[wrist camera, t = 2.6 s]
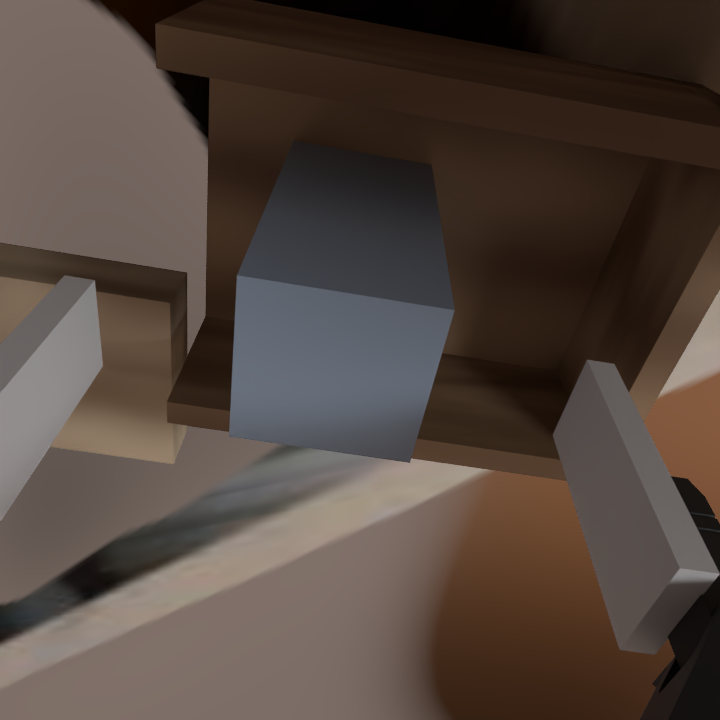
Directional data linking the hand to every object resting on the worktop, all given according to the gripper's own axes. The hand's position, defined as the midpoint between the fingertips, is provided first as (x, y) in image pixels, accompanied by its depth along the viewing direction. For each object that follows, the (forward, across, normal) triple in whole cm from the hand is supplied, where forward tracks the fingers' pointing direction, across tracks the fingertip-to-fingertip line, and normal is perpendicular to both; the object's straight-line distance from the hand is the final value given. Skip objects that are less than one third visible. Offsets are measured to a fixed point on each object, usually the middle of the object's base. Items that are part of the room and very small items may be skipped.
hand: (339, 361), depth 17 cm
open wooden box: (+10, +3, +1) cm, 10 cm away
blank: (+9, 0, 0) cm, 9 cm away
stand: (+10, -11, -8) cm, 17 cm away
